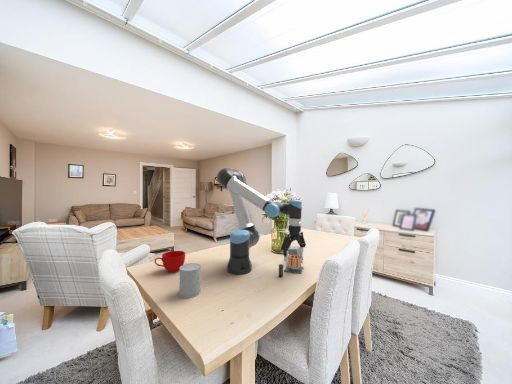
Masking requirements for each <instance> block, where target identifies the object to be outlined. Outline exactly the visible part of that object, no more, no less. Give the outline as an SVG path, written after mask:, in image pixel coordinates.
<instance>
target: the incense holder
mask: <svg viewBox="0 0 512 384" xmlns="http://www.w3.org/2000/svg"><path fill="white" fill-rule="evenodd" d="M299 247H300V245H294V246H293V245H291V247H289V248H288V250H287V251H288V255H299ZM303 260H304V257H303V258H301V262H302V261H303Z"/></svg>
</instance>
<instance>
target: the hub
mask: <svg viewBox="0 0 512 384" xmlns="http://www.w3.org/2000/svg"><path fill="white" fill-rule="evenodd" d="M304 268H305V267H304V266H301V267H291V266H288V264H287V266H285V268H284V269H283V272H285V271H287V272H286V273H292V272H293V273H294V274H298V273H299V274H301V275H302V272H303V271H302V270H304ZM293 273H292V274H293Z"/></svg>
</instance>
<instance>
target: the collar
mask: <svg viewBox="0 0 512 384" xmlns="http://www.w3.org/2000/svg"><path fill="white" fill-rule="evenodd" d="M287 265H288V266H291V267H302V261H301V256H299V255H289V254H288V262H287Z"/></svg>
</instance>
